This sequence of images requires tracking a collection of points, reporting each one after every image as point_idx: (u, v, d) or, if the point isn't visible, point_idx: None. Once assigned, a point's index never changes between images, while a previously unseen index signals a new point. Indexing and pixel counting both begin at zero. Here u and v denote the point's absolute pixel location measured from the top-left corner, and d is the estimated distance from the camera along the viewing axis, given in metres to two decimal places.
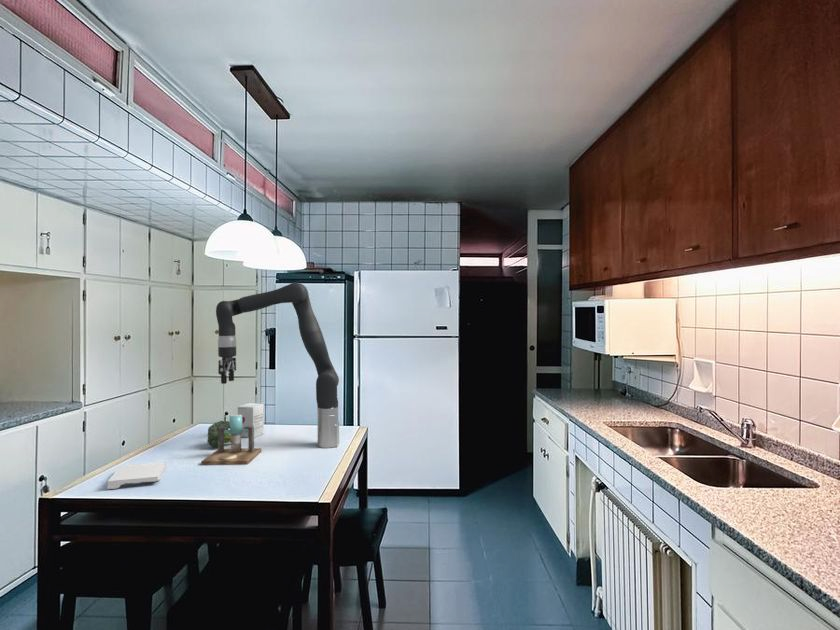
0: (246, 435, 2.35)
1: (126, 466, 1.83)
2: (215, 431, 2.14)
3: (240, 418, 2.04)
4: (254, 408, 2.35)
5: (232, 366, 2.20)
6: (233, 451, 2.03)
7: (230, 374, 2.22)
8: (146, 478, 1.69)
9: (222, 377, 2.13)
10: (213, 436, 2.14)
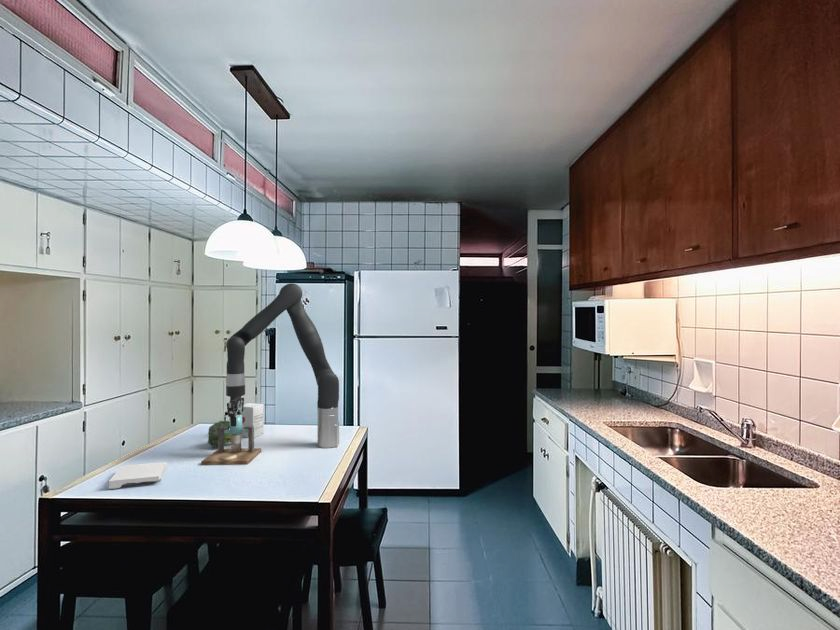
0: (246, 435, 2.35)
1: (126, 466, 1.83)
2: (216, 431, 2.14)
3: (240, 418, 2.04)
4: (254, 408, 2.35)
5: (240, 406, 2.07)
6: (233, 451, 2.03)
7: None
8: (147, 478, 1.69)
9: (232, 420, 2.01)
10: (214, 436, 2.14)
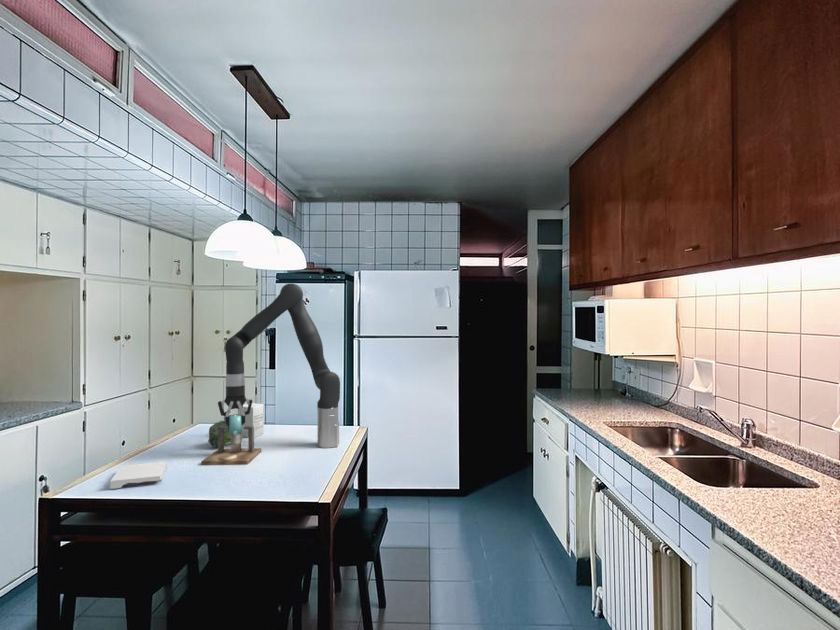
0: (246, 435, 2.35)
1: (127, 466, 1.83)
2: (216, 431, 2.15)
3: (232, 418, 2.03)
4: (254, 408, 2.35)
5: (238, 407, 2.04)
6: (233, 451, 2.03)
7: None
8: (149, 477, 1.70)
9: None
10: (214, 436, 2.14)
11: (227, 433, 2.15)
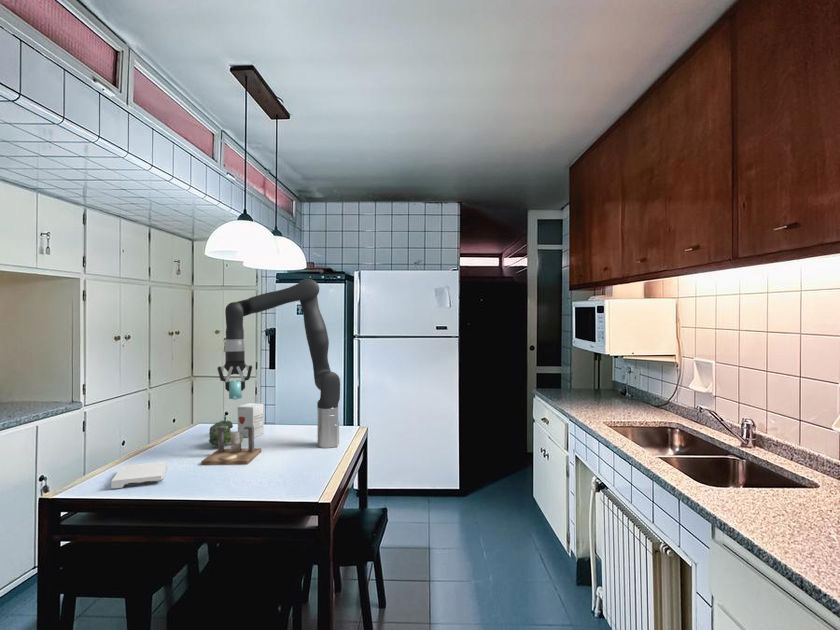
0: (246, 435, 2.35)
1: (127, 466, 1.83)
2: (217, 431, 2.15)
3: (232, 384, 2.02)
4: (254, 408, 2.35)
5: (238, 373, 2.04)
6: (233, 451, 2.03)
7: None
8: (150, 477, 1.70)
9: None
10: (215, 436, 2.14)
11: (228, 433, 2.15)
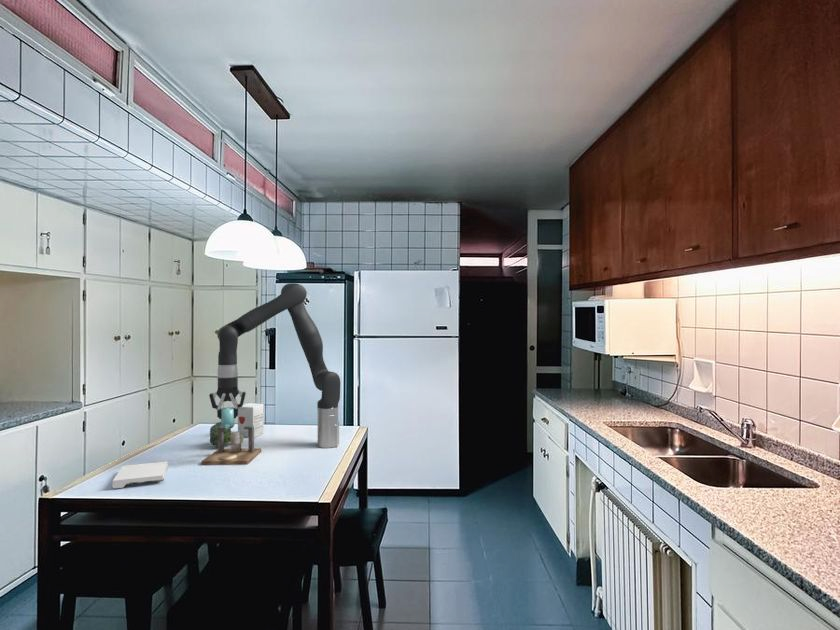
0: (246, 435, 2.35)
1: (128, 466, 1.83)
2: (217, 431, 2.15)
3: (224, 411, 1.94)
4: (254, 408, 2.35)
5: (231, 400, 1.95)
6: (233, 451, 2.03)
7: (234, 410, 1.97)
8: (151, 477, 1.70)
9: None
10: (215, 436, 2.14)
11: (228, 433, 2.15)
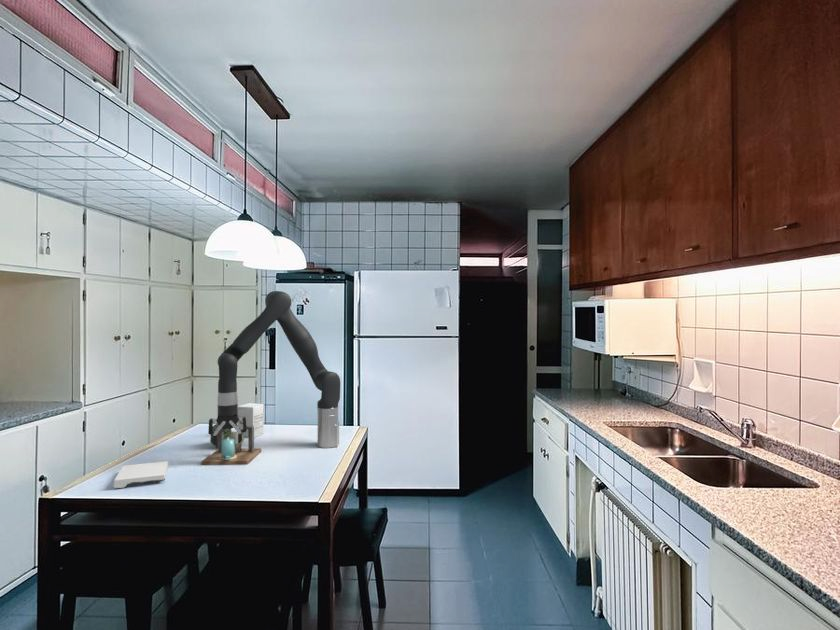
0: (246, 435, 2.35)
1: (128, 466, 1.83)
2: None
3: (225, 442, 1.94)
4: (254, 408, 2.35)
5: (233, 427, 1.96)
6: None
7: (238, 435, 1.98)
8: (152, 477, 1.70)
9: None
10: None
11: (229, 433, 2.15)
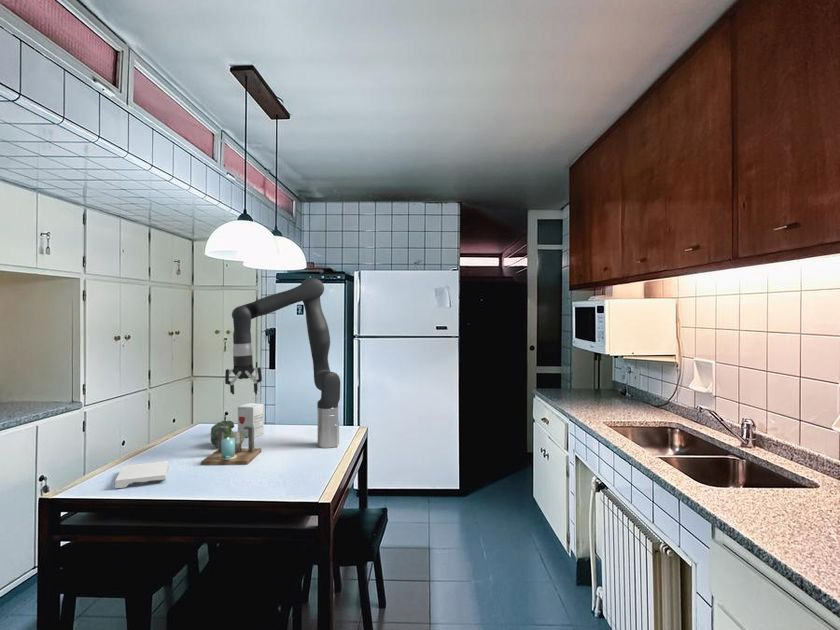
0: (246, 435, 2.35)
1: (129, 466, 1.83)
2: None
3: (225, 442, 1.94)
4: (254, 408, 2.35)
5: (248, 377, 2.03)
6: None
7: (254, 385, 2.05)
8: (153, 477, 1.71)
9: (230, 387, 2.02)
10: (216, 436, 2.14)
11: (229, 433, 2.15)
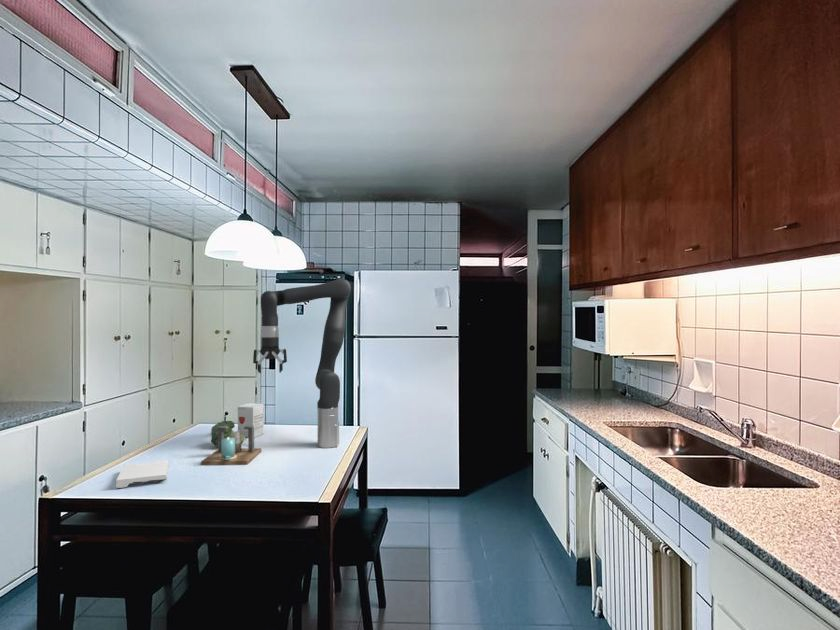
0: (246, 435, 2.35)
1: (129, 466, 1.83)
2: None
3: (225, 442, 1.94)
4: (254, 408, 2.35)
5: (275, 357, 2.17)
6: None
7: (279, 365, 2.19)
8: (154, 476, 1.71)
9: None
10: (217, 436, 2.14)
11: (229, 433, 2.16)
